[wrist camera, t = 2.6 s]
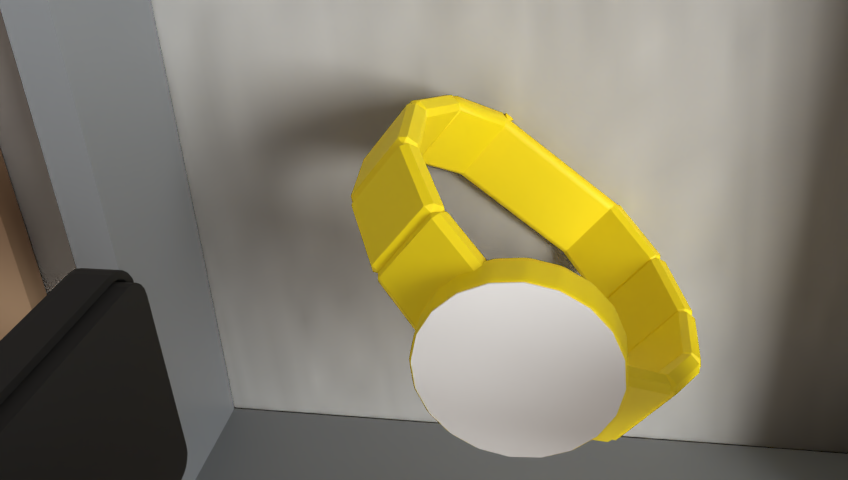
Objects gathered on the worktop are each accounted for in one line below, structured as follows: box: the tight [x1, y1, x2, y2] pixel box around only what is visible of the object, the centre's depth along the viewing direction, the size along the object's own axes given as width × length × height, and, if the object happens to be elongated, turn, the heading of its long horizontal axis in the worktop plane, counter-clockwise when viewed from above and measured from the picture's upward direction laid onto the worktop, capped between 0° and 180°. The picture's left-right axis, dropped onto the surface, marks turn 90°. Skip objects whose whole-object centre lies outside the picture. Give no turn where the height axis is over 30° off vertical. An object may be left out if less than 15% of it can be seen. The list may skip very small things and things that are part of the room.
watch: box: [351, 95, 701, 458], centre depth 13 cm, size 6×3×6 cm, turn 55°
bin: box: [0, 0, 848, 480], centre depth 14 cm, size 14×16×3 cm
